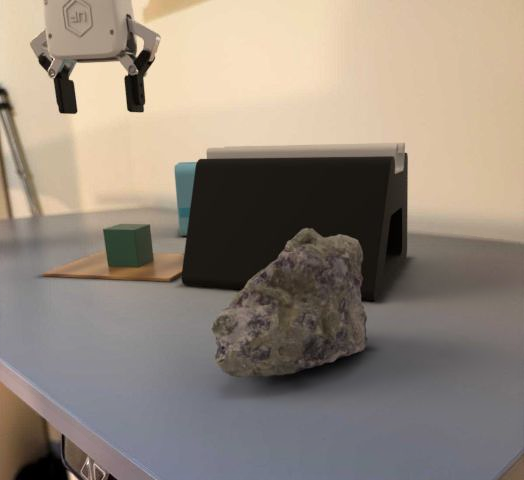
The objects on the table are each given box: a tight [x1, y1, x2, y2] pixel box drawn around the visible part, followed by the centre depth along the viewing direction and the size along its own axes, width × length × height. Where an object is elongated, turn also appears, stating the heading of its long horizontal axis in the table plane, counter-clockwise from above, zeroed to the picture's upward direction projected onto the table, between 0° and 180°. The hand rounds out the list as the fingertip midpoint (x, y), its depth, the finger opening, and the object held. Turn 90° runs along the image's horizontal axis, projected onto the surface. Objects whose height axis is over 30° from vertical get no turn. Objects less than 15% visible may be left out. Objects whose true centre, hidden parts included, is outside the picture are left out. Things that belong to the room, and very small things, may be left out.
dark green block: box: [102, 223, 154, 268], centre depth 73 cm, size 5×5×5 cm
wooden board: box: [42, 251, 184, 282], centre depth 74 cm, size 18×14×1 cm
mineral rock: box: [210, 228, 368, 378], centre depth 40 cm, size 13×11×10 cm
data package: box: [173, 161, 197, 237], centre depth 98 cm, size 12×4×12 cm, turn 4°
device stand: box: [180, 142, 409, 302], centre depth 66 cm, size 22×22×15 cm
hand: (101, 112), depth 69 cm, fingers open, 9 cm apart
